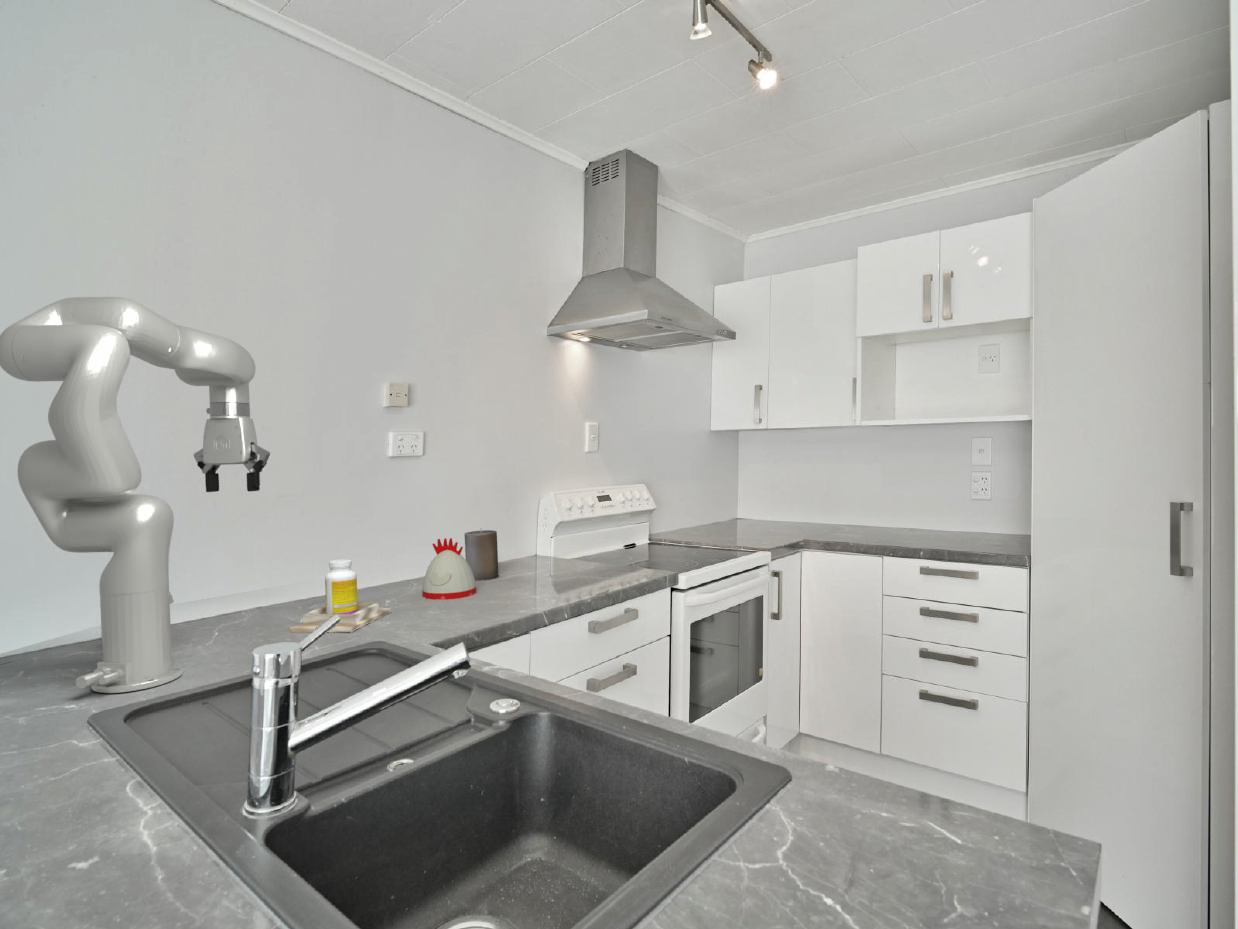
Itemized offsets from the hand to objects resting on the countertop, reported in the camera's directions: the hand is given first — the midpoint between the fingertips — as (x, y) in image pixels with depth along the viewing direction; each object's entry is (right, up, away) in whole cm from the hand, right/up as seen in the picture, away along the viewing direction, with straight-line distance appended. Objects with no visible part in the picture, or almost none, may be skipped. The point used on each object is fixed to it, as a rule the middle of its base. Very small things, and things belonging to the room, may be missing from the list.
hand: (233, 491), depth 146 cm
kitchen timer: (+38, -29, +34) cm, 59 cm away
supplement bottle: (+21, -29, +6) cm, 36 cm away
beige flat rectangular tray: (+22, -30, +6) cm, 37 cm away
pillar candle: (+43, -28, +56) cm, 76 cm away
